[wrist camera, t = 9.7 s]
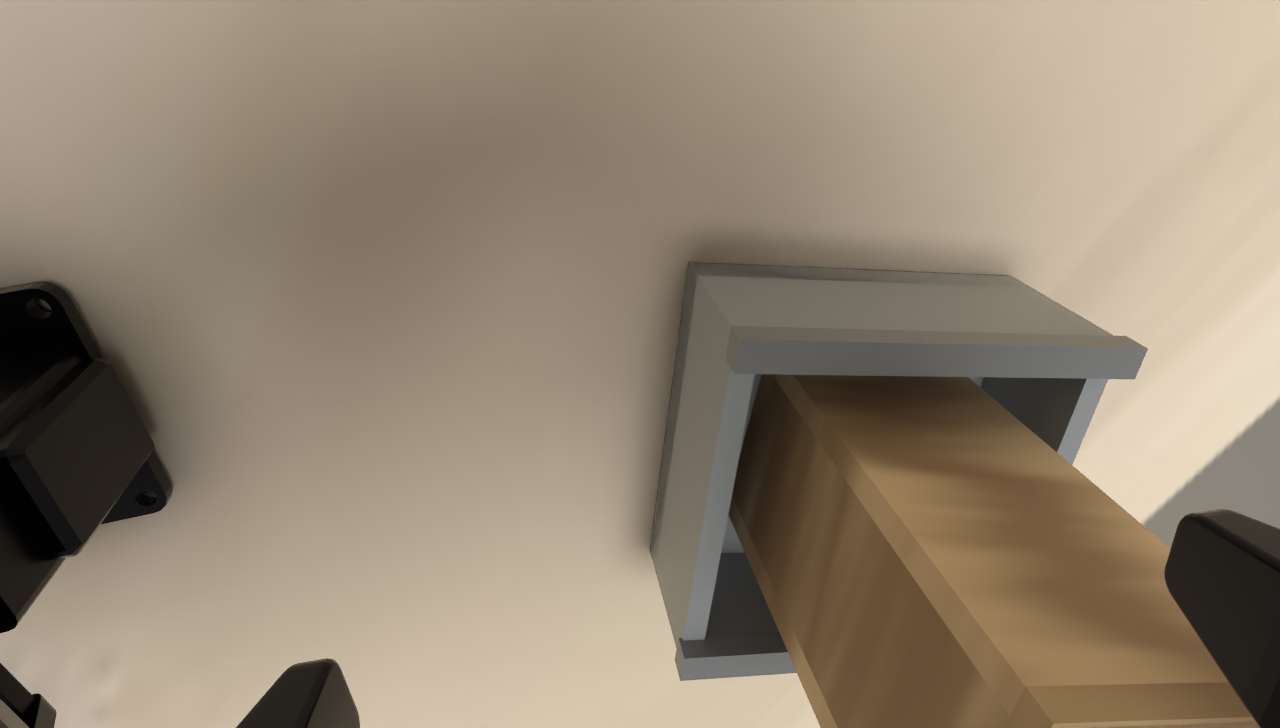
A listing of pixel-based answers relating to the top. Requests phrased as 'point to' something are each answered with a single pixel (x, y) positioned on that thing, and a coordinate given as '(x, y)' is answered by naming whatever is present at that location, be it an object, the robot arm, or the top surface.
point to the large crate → (836, 345)
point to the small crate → (957, 567)
